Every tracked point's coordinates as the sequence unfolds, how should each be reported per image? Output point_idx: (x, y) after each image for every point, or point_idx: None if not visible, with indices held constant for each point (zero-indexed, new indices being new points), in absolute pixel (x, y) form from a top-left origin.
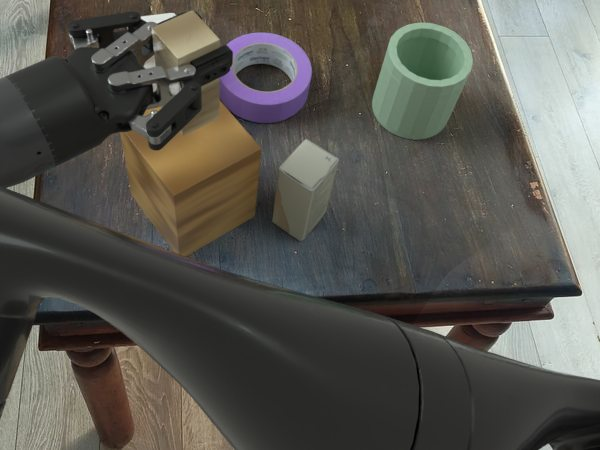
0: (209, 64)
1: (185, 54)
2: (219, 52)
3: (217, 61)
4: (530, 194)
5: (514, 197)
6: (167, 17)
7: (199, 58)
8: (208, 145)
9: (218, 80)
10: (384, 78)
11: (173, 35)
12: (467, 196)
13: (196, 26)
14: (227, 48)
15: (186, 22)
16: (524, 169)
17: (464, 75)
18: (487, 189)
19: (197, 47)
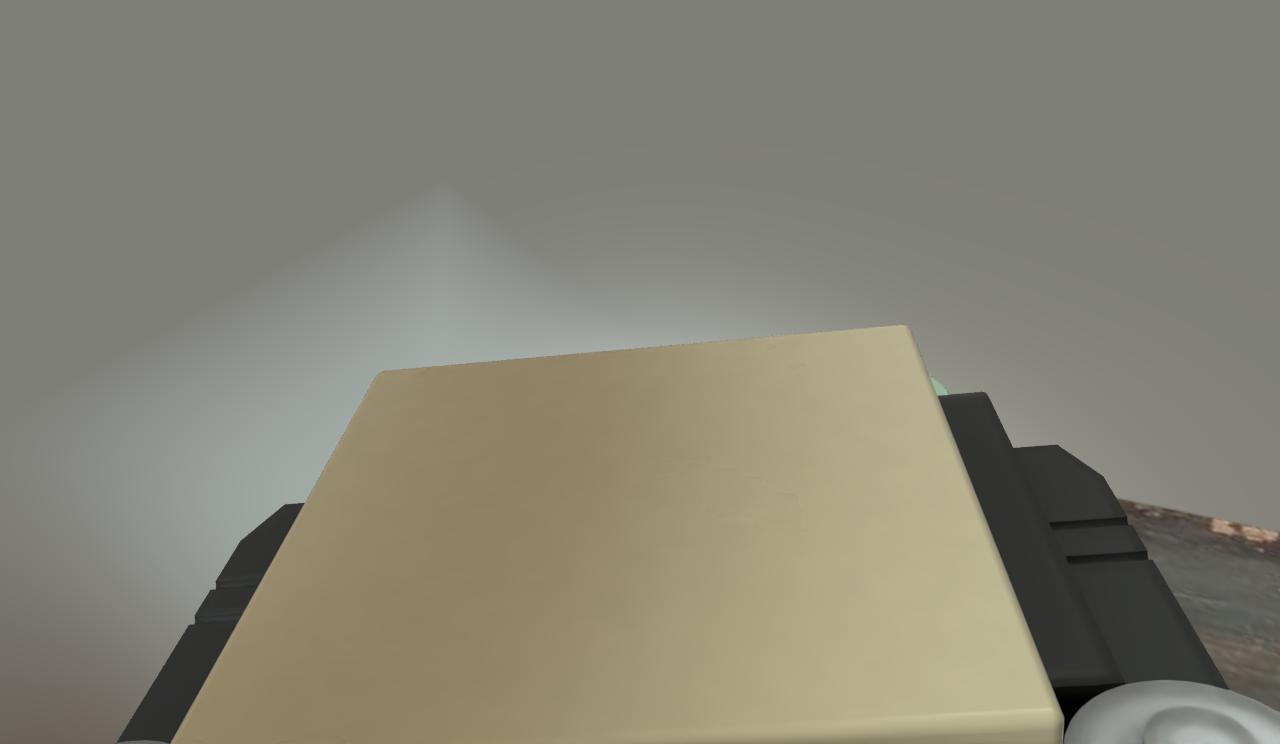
0: (1082, 587)
1: (1006, 600)
2: (980, 447)
3: (1056, 524)
4: (1254, 544)
5: (1255, 575)
6: None
7: None
8: None
9: None
10: None
11: (547, 593)
12: (1216, 661)
13: (598, 401)
14: (955, 395)
15: (472, 442)
16: (1161, 520)
17: (935, 386)
18: (1204, 611)
19: (932, 467)
